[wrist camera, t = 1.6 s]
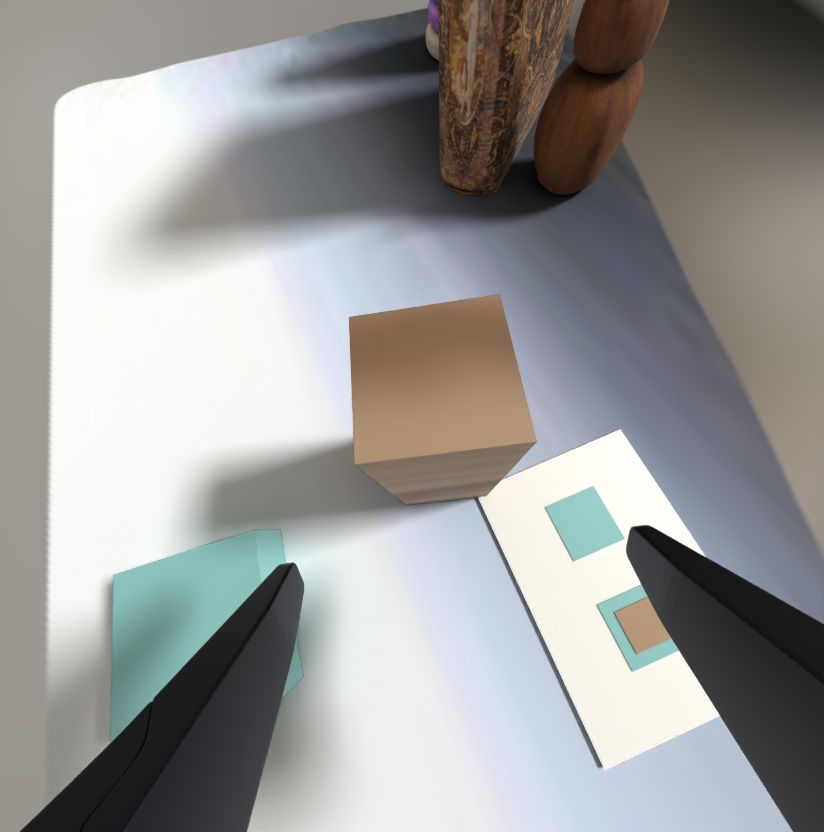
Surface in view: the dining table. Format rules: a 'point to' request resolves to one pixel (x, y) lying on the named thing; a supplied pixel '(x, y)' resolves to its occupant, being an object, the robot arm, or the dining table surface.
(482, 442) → the column brick
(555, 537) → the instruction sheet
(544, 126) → the wooden figurine
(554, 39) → the book
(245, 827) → the robot arm
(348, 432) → the dining table surface
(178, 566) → the base brick
